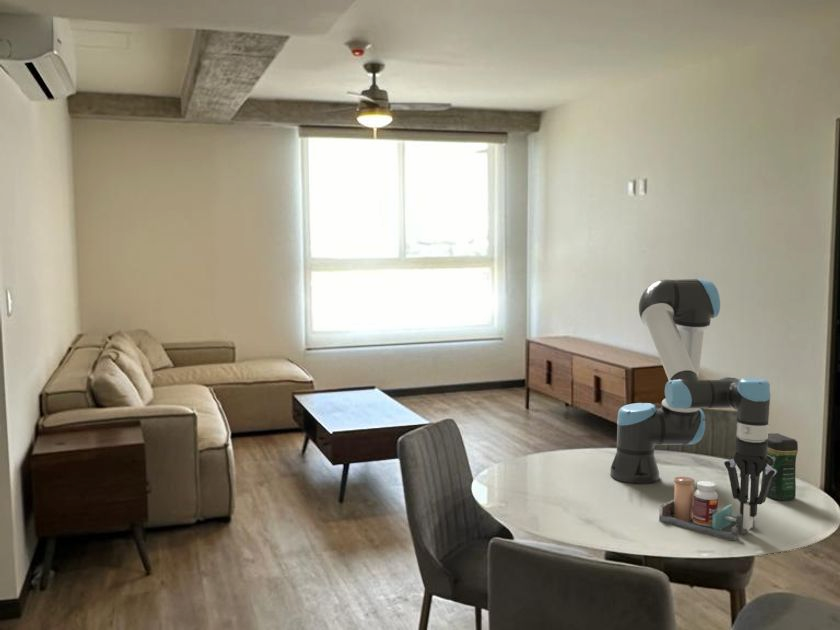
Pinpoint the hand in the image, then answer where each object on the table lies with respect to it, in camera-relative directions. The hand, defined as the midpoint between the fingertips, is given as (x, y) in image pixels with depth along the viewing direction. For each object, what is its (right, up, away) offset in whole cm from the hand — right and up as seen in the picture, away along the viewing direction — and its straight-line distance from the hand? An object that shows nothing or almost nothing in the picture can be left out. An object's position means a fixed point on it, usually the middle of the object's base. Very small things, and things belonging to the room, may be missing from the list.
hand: (747, 527), depth 202 cm
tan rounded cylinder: (-13, -1, +12) cm, 18 cm away
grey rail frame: (-8, -1, +8) cm, 11 cm away
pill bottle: (-8, -1, +8) cm, 12 cm away
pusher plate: (-3, -2, +3) cm, 4 cm away
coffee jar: (+22, +1, +30) cm, 37 cm away
